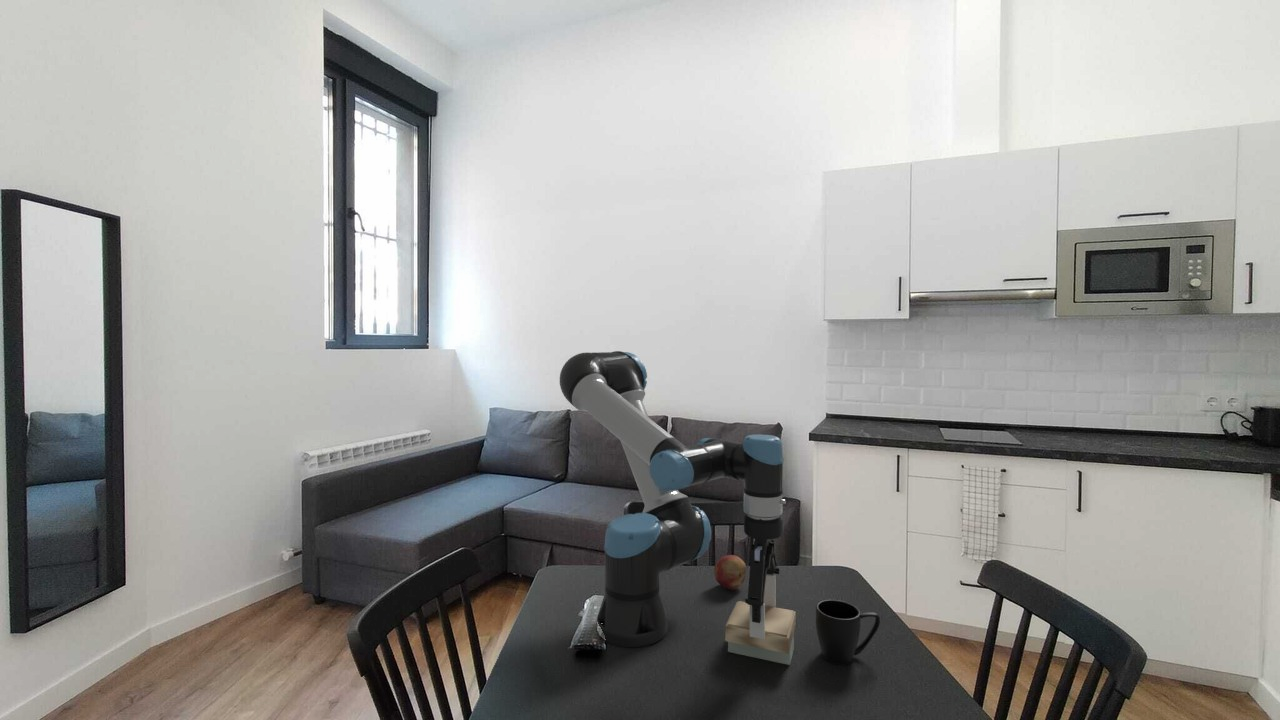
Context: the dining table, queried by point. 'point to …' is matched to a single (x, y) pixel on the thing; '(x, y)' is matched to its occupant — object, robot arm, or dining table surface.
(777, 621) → the lid
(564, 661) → the dining table surface
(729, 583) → the fruit
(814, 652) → the dining table surface
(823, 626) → the mug
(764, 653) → the sage green box base
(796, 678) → the dining table surface
